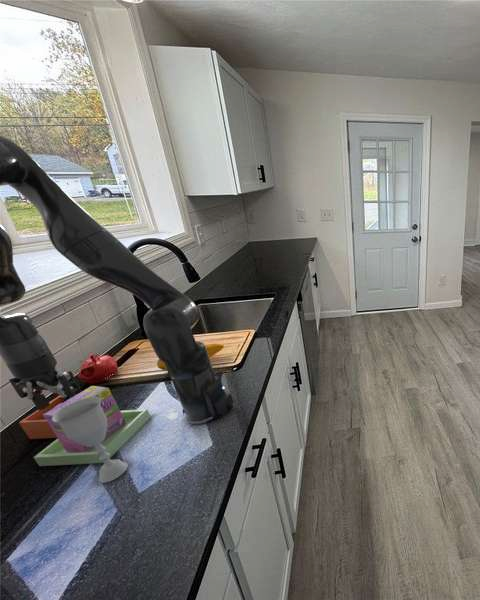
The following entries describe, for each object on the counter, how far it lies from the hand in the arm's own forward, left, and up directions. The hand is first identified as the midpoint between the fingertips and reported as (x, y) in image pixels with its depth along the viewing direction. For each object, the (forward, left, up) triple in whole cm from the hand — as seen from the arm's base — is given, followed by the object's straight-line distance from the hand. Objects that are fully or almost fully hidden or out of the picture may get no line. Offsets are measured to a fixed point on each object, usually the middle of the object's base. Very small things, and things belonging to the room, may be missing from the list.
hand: (59, 406), depth 83 cm
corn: (-18, -27, -6) cm, 33 cm away
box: (-14, +7, -5) cm, 17 cm away
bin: (0, 0, -6) cm, 6 cm away
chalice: (-26, +17, -6) cm, 32 cm away
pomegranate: (+10, -21, -6) cm, 24 cm away
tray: (-14, +7, -6) cm, 17 cm away
